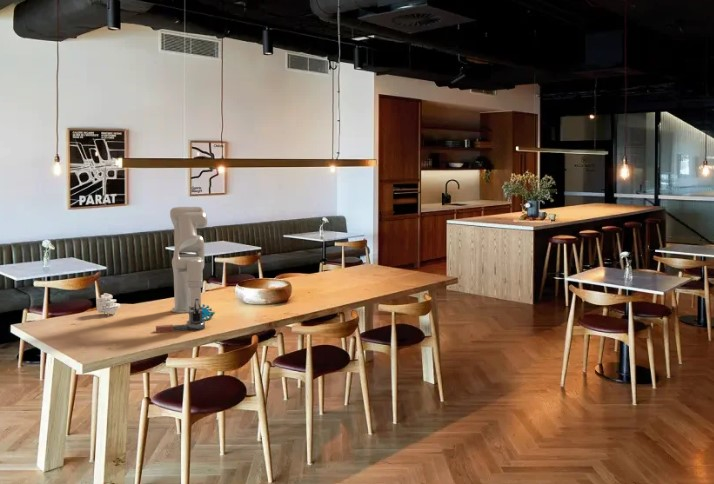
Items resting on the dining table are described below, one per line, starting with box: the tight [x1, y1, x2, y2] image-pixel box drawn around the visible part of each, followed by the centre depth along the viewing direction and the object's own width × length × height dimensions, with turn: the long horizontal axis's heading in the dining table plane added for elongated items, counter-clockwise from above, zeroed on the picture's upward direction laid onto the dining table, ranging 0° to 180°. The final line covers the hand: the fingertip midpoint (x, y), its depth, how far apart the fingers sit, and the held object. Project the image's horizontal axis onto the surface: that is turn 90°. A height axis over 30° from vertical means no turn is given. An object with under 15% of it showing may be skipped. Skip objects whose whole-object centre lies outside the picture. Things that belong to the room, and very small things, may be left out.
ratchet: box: [155, 321, 206, 334], centre depth 319 cm, size 9×24×7 cm, turn 113°
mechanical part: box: [96, 292, 121, 317], centre depth 350 cm, size 11×12×12 cm
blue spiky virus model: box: [201, 304, 216, 322], centre depth 343 cm, size 11×6×10 cm
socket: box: [188, 306, 203, 324], centre depth 322 cm, size 6×6×8 cm
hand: (195, 319), depth 322 cm, fingers closed on socket, 5 cm apart
